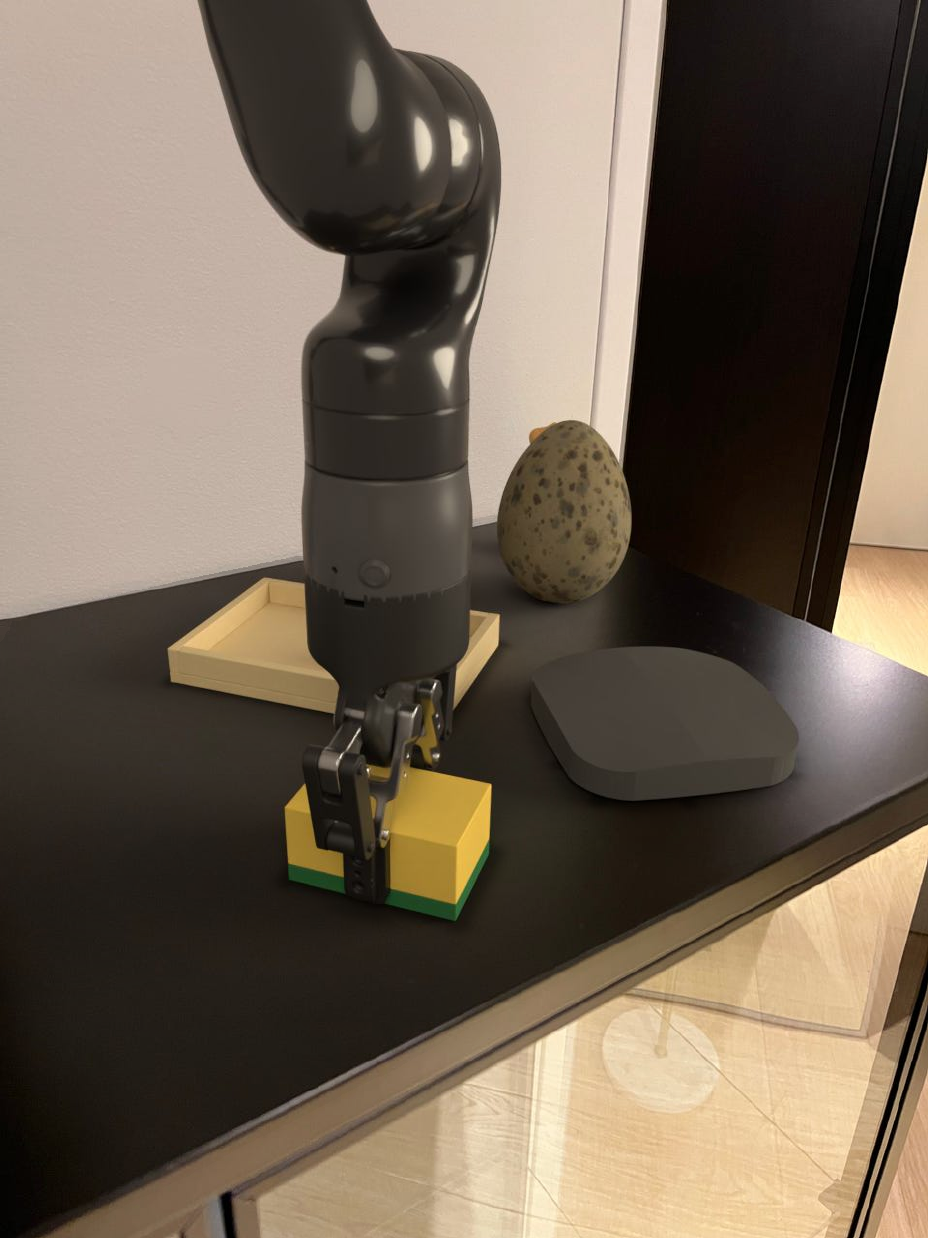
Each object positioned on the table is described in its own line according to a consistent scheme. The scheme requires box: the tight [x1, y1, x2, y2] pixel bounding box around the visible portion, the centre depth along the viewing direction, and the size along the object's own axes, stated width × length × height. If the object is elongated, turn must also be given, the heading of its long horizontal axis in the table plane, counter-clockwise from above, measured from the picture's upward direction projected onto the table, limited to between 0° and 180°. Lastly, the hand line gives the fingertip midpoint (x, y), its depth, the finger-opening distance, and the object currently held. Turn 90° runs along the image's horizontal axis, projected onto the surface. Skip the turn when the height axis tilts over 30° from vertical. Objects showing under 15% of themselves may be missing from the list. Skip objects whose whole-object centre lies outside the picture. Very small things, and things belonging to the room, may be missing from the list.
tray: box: [167, 577, 500, 715], centre depth 73 cm, size 20×14×3 cm
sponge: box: [284, 765, 492, 922], centre depth 52 cm, size 9×6×4 cm, turn 72°
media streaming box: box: [530, 645, 800, 802], centre depth 65 cm, size 15×15×3 cm
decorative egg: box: [496, 419, 632, 605], centre depth 82 cm, size 11×11×15 cm
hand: (391, 859), depth 53 cm, fingers closed on sponge, 5 cm apart
